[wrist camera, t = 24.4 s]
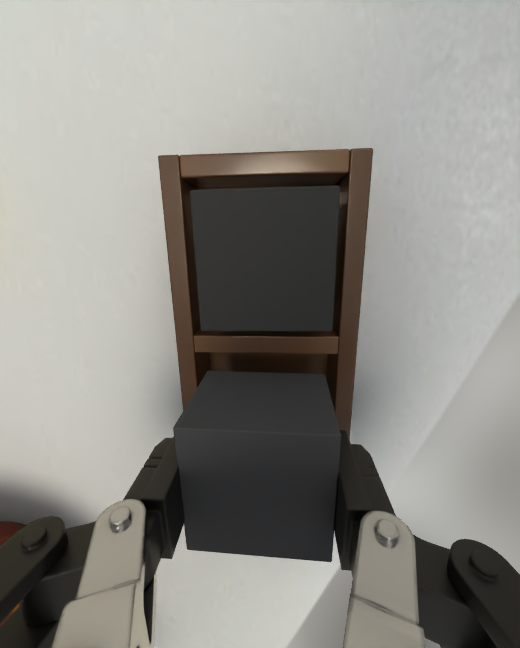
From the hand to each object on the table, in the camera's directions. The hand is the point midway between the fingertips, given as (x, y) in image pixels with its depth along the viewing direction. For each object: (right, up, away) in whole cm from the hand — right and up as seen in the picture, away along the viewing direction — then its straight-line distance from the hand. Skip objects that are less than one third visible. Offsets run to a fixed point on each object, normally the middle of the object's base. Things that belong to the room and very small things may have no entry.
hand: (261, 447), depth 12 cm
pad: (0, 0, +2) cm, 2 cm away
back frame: (0, +5, +4) cm, 6 cm away
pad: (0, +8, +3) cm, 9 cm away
